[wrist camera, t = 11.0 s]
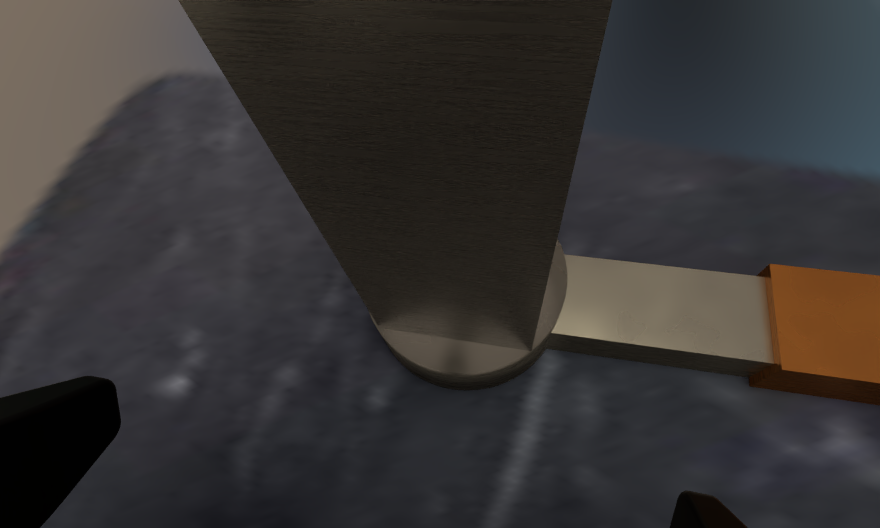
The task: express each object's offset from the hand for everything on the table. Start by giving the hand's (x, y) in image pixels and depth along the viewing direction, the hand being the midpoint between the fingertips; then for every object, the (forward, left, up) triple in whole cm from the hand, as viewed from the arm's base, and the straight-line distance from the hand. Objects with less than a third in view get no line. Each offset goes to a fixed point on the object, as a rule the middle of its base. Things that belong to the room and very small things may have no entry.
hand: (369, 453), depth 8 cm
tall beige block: (+3, +6, -7) cm, 10 cm away
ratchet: (+10, +2, -10) cm, 14 cm away
